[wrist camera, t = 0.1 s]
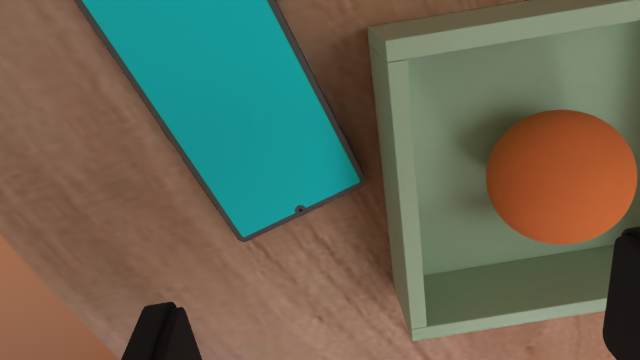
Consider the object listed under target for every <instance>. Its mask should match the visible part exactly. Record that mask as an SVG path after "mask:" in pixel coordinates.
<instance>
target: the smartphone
mask: <svg viewBox="0 0 640 360" xmlns="http://www.w3.org/2000/svg"><path fill="white" fill-rule="evenodd" d="M74 1H75V3H76V4H77V5H78V7H79V8H80V10H81V11H82V13H83V14H84V16H85V17H86V19H87V20H88V21H89V23H90V24H91V26H92V27H93V29H94V30H95V32H96V33H97V35H98V36H99V38H100V39H101V40H102V42H103V43H104V45H105V46H106V48H107V49H108V51H109V52H110V54H111V55H112V57H113V58H114V59H115V61H116V62H117V64H118V65H119V67H120V68H121V70H122V71H123V73H124V74H125V75H126V77H127V78H128V80H129V81H130V83H131V84H132V86H133V87H134V89H135V90H136V92H137V93H138V94H139V96H140V97H141V99H142V100H143V102H144V103H145V105H146V106H147V108H148V109H149V111H150V112H151V113H152V115H153V116H154V118H155V119H156V121H157V122H158V124H159V125H160V127H161V128H162V130H163V132H164V133H165V135H166V136H167V137H168V139H169V140H170V142H171V143H172V144H173V146H174V147H175V148H176V150H177V151H178V153H179V154H180V156H181V157H182V159H183V161H184V162H185V164H186V165H187V167H188V168H189V170H190V171H191V172H192V174H193V175H194V177H195V178H196V180H197V181H198V183H199V184H200V186H201V187H202V189H203V190H204V191H205V193H206V194H207V196H208V197H209V199H210V200H211V202H212V203H213V205H214V206H215V207H216V209H217V210H218V211H219V213H220V214H221V216H222V217H223V219H224V220H225V221H226V223H227V224H228V226H229V227H230V229H231V230H232V232H233V233H234V235H235V236H236V237H237V239H238V240H239V241H242V242H246V241H249V240H251V239H253V238H255V237H257V236H259V235H261V234H263V233H266V232H268V231H270V230H272V229H274V228H276V227H278V226H280V225H282V224H284V223H287V222H289V221H291V220H293V219H295V218H297V217H300V216H302V215H304V214H306V213H308V212H310V211H312V210H314V209H316V208H318V207H320V206H322V205H325V204H327V203H329V202H331V201H333V200H335V199H337V198H339V197H341V196H344V195H346V194H348V193H350V192H352V191H354V190H356V189H358V188H360V187H362V186H363V185H364V184H365V181H366V179H365V176H364V174H363V171H362V169H361V167H360V165H359V163H358V161H357V159H356V157H355V155H354V153H353V151H352V149H351V147H350V145H349V143H348V142H347V140H346V138H345V136H344V134H343V132H342V130H341V128H340V126H339V124H338V122H337V120H336V118H335V116H334V114H333V112H332V110H331V108H330V106H329V104H328V102H327V100H326V98H325V96H324V94H323V92H322V90H321V88H320V87H319V85H318V83H317V81H316V79H315V77H314V75H313V73H312V71H311V69H310V67H309V65H308V63H307V61H306V59H305V57H304V55H303V53H302V51H301V49H300V47H299V45H298V43H297V41H296V39H295V37H294V35H293V34H292V32H291V30H290V28H289V26H288V24H287V22H286V20H285V18H284V16H283V14H282V12H281V10H280V8H279V6H278V4H277V2H276V0H74Z"/></svg>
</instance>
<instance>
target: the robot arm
mask: <svg viewBox="0 0 640 360" xmlns="http://www.w3.org/2000/svg"><path fill="white" fill-rule="evenodd" d="M603 339H604V342H605V344H606V346H607V348H608V350H609V351H610V352H611V353H612V355H613V356H614V357H615V358H616V359H617V360H640V226H639V227H633V228H627V229H625V230H624V231H623V232H622V234H621V237H618V238H617V239H616V240H615V243H614V251H613V258H612V266H611V273H610V281H609V288H608V296H607V303H606V311H605V318H604V326H603ZM121 360H202V358H201V355H200V352H199V349H198V346H197V343H196V341H195V338H194V335H193V332H192V329H191V326H190V323H189V320H188V317H187V314H186V312H185V309H184V308H183V307H179V308H177V307H176V305H175V304H174V303H173V302H167V303H161V304H154V305H148V306H145V307H144V309H143V310H142V312H141V315H140V317H139V319H138V322H137V324H136V326H135V329H134V331H133V333H132V336H131V338H130V340H129V343H128V345H127V347H126V350H125V352H124V354H123V357H122V359H121Z"/></svg>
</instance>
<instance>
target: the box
mask: <svg viewBox="0 0 640 360" xmlns="http://www.w3.org/2000/svg"><path fill="white" fill-rule="evenodd" d="M367 33H368V43H369V52H370V62H371V71H372V81H373V90H374V100H375V109H376V119H377V128H378V138H379V147H380V157H381V166H382V176H383V186H384V195H385V205H386V214H387V224H388V233H389V243H390V252H391V262H392V271H393V281H394V288H395V291H396V294H397V297H398V300H399V303H400V306H401V309H402V312H403V315H404V318H405V321H406V324H407V327H408V330H409V333H410V336H411V339H412V341H418V340H424V339H431V338H437V337H443V336H449V335H456V334H462V333H468V332H474V331H480V330H487V329H493V328H499V327H505V326H511V325H518V324H524V323H530V322H536V321H543V320H549V319H555V318H561V317H567V316H574V315H580V314H586V313H592V312H599V311H605V310H606V303H607V296H608V288H609V281H610V273H611V266H612V258H613V251H614V243H615V240H616V239H617V238H618V237H621V234H622V232H623V231H624V230H625V229H627V228H633V227H639V226H640V0H527V1H521V2H515V3H509V4H503V5H497V6H491V7H485V8H479V9H473V10H467V11H461V12H455V13H449V14H443V15H437V16H431V17H425V18H419V19H412V20H406V21H400V22H394V23H388V24H382V25H376V26H370V27H367ZM550 110H574V111H580V112H584V113H587V114H590V115H593V116H595V117H597V118H599V119H601V120H603V121H605V122H606V123H608V124H609V125H611V126H612V127H613V128H614V129H615V130H616V131H618V132H619V134H620V135H621V136H622V137H623V138H624V139H625V141H626V142H627V144H628V145H629V147H630V149H631V151H632V153H633V155H634V159H635V162H636V166H637V187H636V192H635V195H634V198H633V201H632V203H631V205H630V207H629V209H628V210H627V212H626V213H625V215H624V216H623V217H622V218H621V220H620V221H619V222H618V223H617V224H616V225H614V226H613V227H612V228H611V229H609V230H608V231H606V232H605V233H603V234H601V235H600V236H597V237H595V238H593V239H590V240H587V241H584V242H580V243H576V244H565V245H556V244H548V243H543V242H539V241H535V240H533V239H530V238H528V237H525V236H523V235H522V234H520V233H518V232H517V231H515V230H514V229H512V228H511V227H510V226H509V225H508V224H506V223H505V222H504V221H503V219H502V218H501V217H500V216H499V215H498V213H497V212H496V210H495V208H494V207H493V205H492V203H491V200H490V198H489V195H488V191H487V186H486V168H487V163H488V160H489V157H490V154H491V152H492V150H493V147H494V146H495V144H496V143H497V141H498V140H499V139H500V137H501V136H502V135H503V134H504V133H505V132H506V131H507V130H508V129H509V128H510V127H512V126H513V125H514V124H516V123H517V122H519V121H520V120H522V119H524V118H526V117H528V116H531V115H534V114H536V113H539V112H544V111H550Z"/></svg>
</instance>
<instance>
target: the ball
mask: <svg viewBox="0 0 640 360" xmlns="http://www.w3.org/2000/svg"><path fill="white" fill-rule="evenodd" d="M486 186H487V191H488V195H489V198H490V200H491V203H492V205H493V207H494V208H495V210H496V212H497V213H498V215H499V216H500V217H501V218H502V219H503V221H504V222H505V223H506V224H508V225H509V226H510V227H511V228H512V229H514V230H515V231H517V232H518V233H520V234H522V235H523V236H525V237H528V238H530V239H533V240H535V241H539V242H543V243H548V244H556V245H565V244H576V243H580V242H584V241H587V240H590V239H593V238H595V237H597V236H600V235H601V234H603V233H605V232H606V231H608V230H609V229H611V228H612V227H613V226H614V225H616V224H617V223H618V222H619V221H620V220H621V218H622V217H623V216H624V215H625V213H626V212H627V210H628V209H629V207H630V205H631V203H632V201H633V198H634V195H635V192H636V187H637V166H636V162H635V159H634V155H633V153H632V151H631V149H630V147H629V145H628V144H627V142H626V141H625V139H624V138H623V137H622V136H621V135H620V134H619V132H618V131H616V130H615V129H614V128H613V127H612V126H611V125H609V124H608V123H606V122H605V121H603V120H601V119H599V118H597V117H595V116H593V115H590V114H587V113H584V112H580V111H574V110H550V111H544V112H539V113H536V114H534V115H531V116H528V117H526V118H524V119H522V120H520V121H519V122H517V123H516V124H514V125H513V126H512V127H510V128H509V129H508V130H507V131H506V132H505V133H504V134H503V135H502V136H501V137H500V139H499V140H498V141H497V143H496V144H495V146H494V147H493V150H492V152H491V154H490V157H489V160H488V163H487V168H486Z"/></svg>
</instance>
